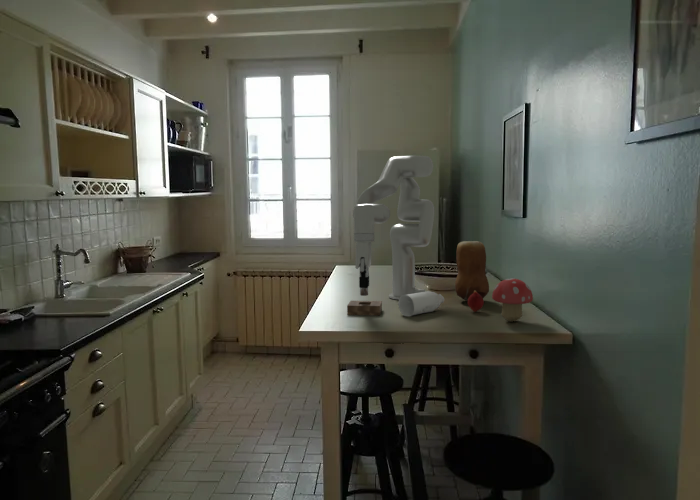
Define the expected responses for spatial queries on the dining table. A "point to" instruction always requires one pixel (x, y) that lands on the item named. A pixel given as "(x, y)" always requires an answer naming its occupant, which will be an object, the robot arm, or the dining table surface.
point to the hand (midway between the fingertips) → (364, 286)
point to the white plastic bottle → (419, 303)
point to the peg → (364, 290)
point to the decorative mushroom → (512, 297)
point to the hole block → (364, 308)
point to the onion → (475, 301)
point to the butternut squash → (471, 269)
